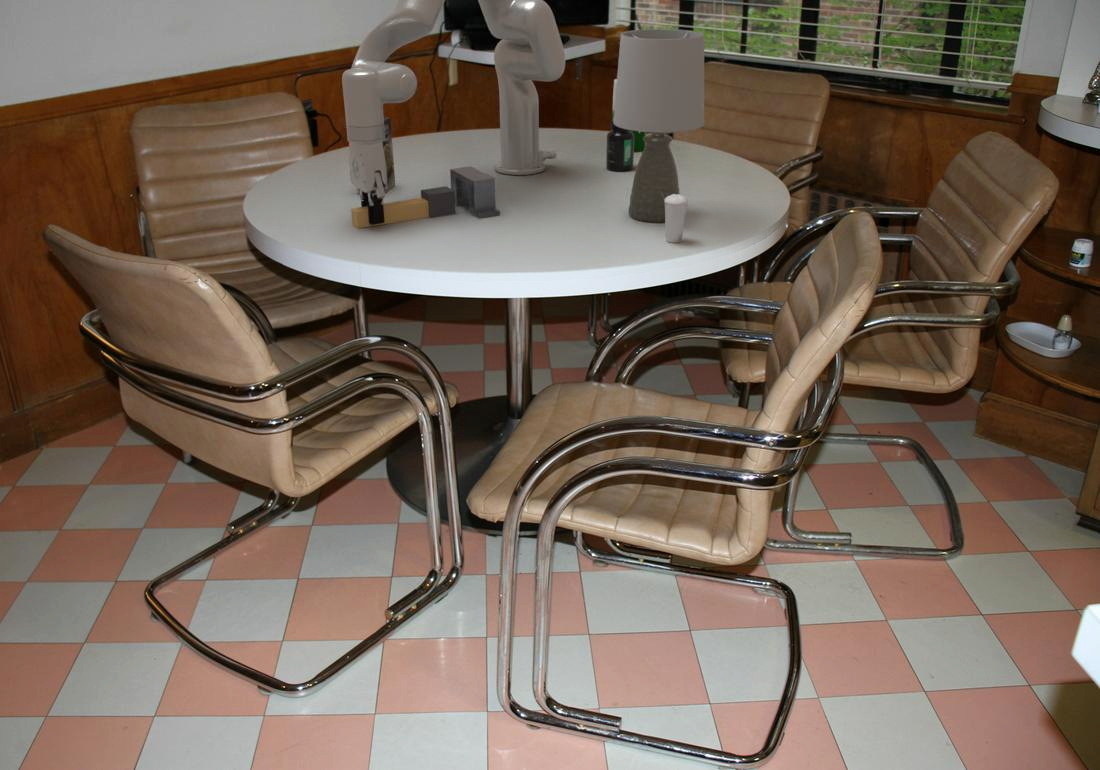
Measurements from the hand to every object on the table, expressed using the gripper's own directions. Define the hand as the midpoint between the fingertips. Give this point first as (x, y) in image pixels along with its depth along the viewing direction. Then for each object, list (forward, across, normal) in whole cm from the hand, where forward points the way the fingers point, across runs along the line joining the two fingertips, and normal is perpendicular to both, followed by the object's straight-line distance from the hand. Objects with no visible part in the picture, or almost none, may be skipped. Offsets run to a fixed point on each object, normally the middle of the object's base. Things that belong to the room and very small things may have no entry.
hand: (373, 220), depth 207 cm
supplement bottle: (+1, -13, +70) cm, 71 cm away
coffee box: (+1, -25, +10) cm, 27 cm away
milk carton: (+1, -30, +84) cm, 89 cm away
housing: (+1, 0, +23) cm, 23 cm away
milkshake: (+1, +41, +47) cm, 63 cm away
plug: (+1, 0, +7) cm, 7 cm away
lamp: (+1, +25, +54) cm, 60 cm away
